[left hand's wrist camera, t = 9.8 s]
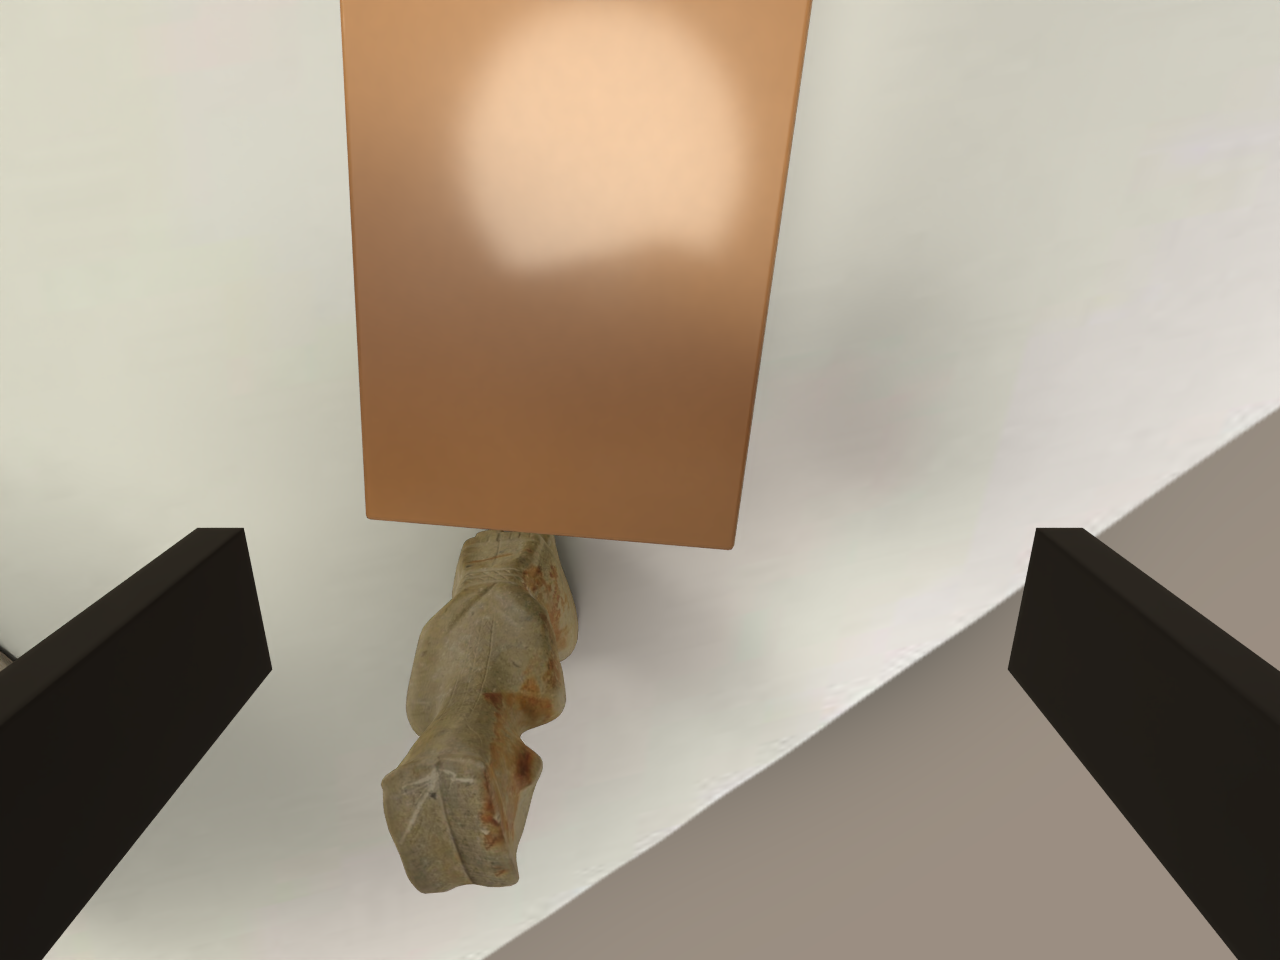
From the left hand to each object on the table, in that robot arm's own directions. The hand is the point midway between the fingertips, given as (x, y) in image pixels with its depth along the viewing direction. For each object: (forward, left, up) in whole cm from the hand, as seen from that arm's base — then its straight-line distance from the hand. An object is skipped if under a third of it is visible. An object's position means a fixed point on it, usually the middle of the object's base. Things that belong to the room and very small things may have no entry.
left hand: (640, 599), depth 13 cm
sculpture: (-11, -3, -21) cm, 24 cm away
